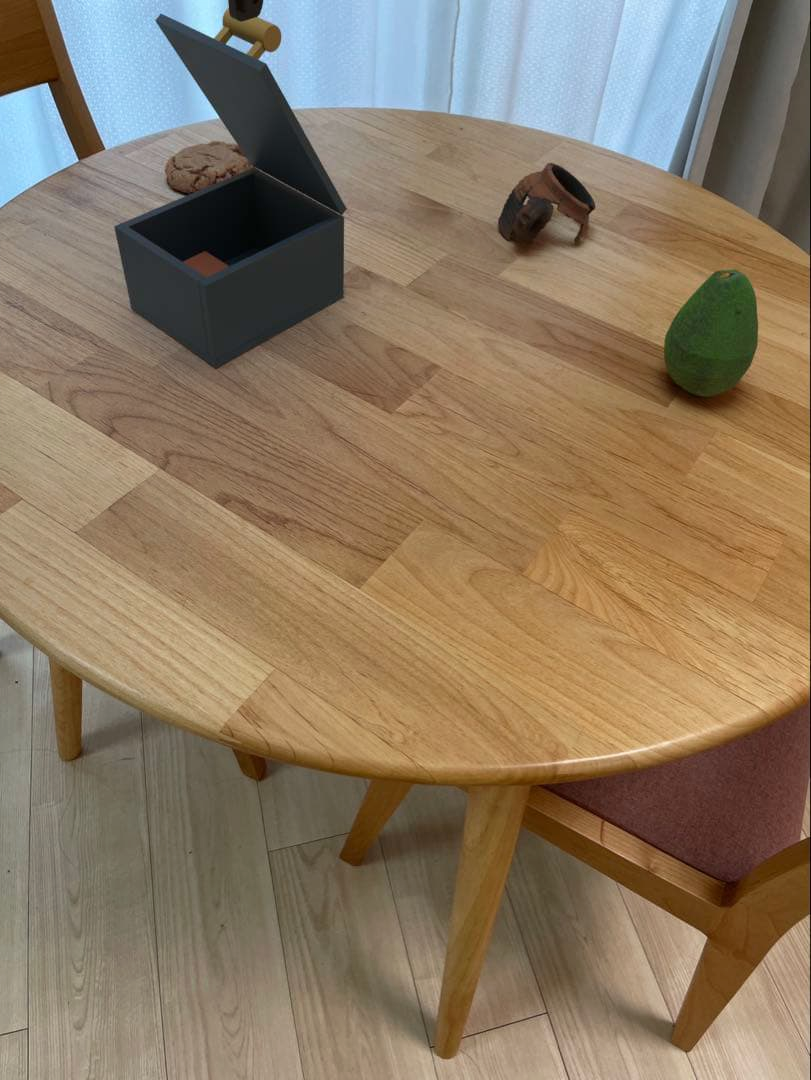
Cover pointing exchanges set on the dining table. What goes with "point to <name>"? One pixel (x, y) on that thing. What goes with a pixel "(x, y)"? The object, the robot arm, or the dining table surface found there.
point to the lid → (253, 102)
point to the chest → (233, 264)
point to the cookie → (205, 165)
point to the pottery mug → (545, 203)
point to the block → (205, 264)
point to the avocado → (713, 335)
